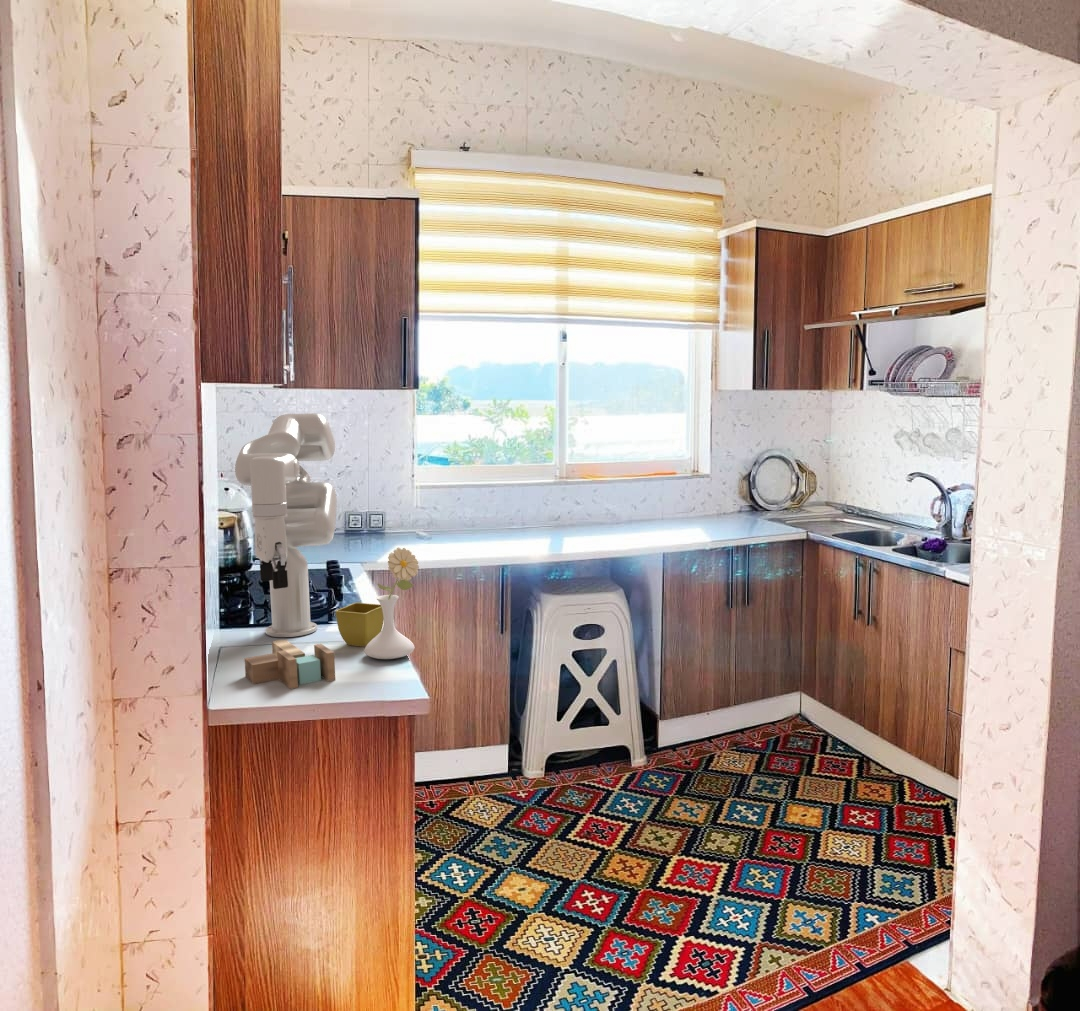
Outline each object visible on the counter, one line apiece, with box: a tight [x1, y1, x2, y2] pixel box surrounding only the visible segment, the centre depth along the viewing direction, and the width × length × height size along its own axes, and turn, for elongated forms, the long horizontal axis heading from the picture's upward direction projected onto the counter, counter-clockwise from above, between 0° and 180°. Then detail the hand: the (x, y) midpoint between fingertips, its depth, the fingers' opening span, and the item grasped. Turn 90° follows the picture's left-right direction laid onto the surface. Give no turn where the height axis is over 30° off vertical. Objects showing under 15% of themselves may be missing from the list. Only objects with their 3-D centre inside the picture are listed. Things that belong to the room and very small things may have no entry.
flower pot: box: [334, 602, 384, 648], centre depth 206 cm, size 9×9×9 cm
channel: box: [277, 643, 336, 690], centre depth 180 cm, size 8×10×6 cm
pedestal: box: [244, 653, 279, 685], centre depth 182 cm, size 6×6×4 cm
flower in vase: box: [364, 547, 420, 660], centre depth 195 cm, size 13×11×25 cm
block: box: [296, 654, 322, 685], centre depth 180 cm, size 4×4×4 cm
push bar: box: [271, 638, 306, 658], centre depth 190 cm, size 14×3×4 cm, turn 34°
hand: (274, 584), depth 197 cm, fingers open, 9 cm apart
